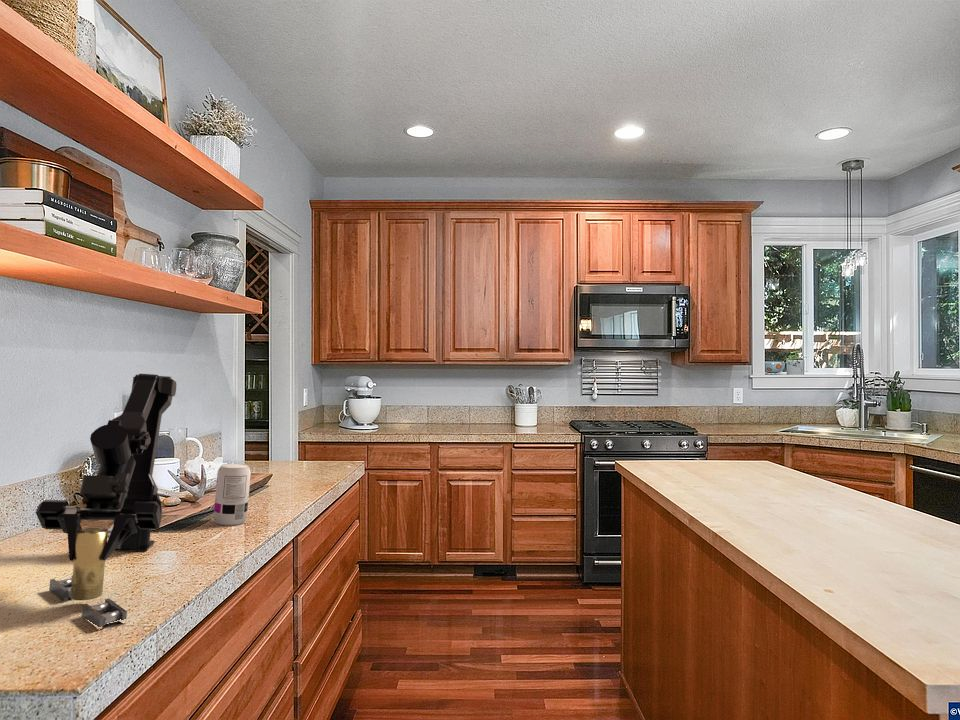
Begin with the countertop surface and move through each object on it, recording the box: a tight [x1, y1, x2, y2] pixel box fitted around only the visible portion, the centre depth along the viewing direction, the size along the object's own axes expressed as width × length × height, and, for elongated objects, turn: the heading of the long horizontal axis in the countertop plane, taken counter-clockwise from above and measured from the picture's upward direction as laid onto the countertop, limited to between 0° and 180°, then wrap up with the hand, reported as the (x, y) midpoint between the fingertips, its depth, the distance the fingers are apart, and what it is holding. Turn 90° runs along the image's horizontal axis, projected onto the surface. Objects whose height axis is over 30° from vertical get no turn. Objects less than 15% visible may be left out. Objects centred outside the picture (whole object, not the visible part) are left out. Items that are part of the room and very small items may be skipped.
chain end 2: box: [81, 598, 128, 627], centre depth 100 cm, size 7×4×2 cm, turn 52°
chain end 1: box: [48, 574, 73, 603], centre depth 109 cm, size 7×4×2 cm, turn 52°
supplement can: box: [213, 462, 252, 526], centre depth 162 cm, size 8×8×15 cm
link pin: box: [70, 527, 109, 601], centre depth 105 cm, size 5×5×11 cm
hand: (87, 559), depth 103 cm, fingers closed on link pin, 5 cm apart
